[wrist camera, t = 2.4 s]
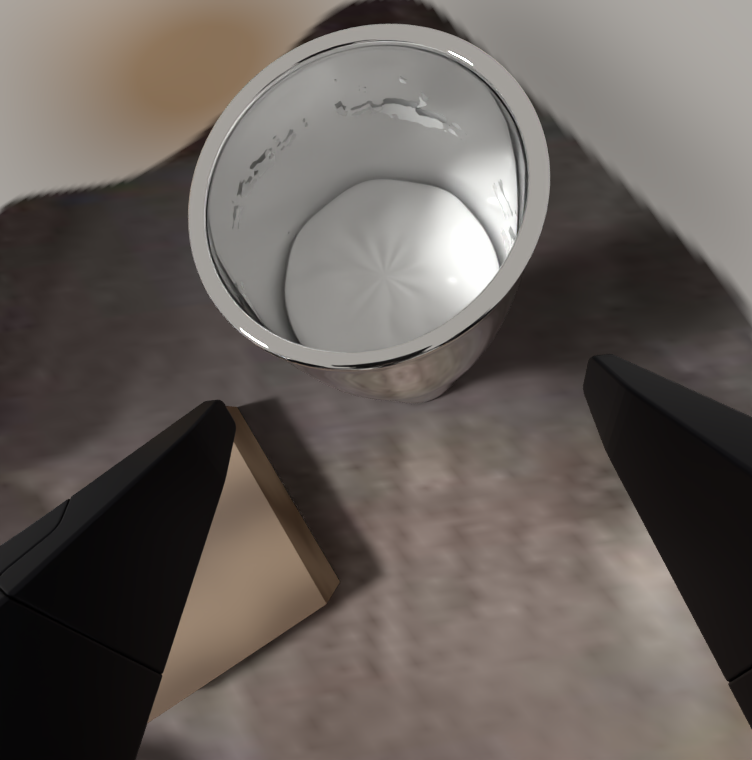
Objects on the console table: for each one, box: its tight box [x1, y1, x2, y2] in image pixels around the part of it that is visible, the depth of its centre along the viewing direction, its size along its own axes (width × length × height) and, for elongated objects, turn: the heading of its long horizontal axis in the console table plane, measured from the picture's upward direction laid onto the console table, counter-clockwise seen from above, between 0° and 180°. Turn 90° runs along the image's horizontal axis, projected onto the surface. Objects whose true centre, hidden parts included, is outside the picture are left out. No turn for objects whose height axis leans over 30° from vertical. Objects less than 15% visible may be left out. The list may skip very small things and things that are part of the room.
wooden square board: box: [148, 406, 340, 723], centre depth 20 cm, size 12×12×2 cm
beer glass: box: [188, 24, 550, 404], centre depth 14 cm, size 7×7×15 cm
